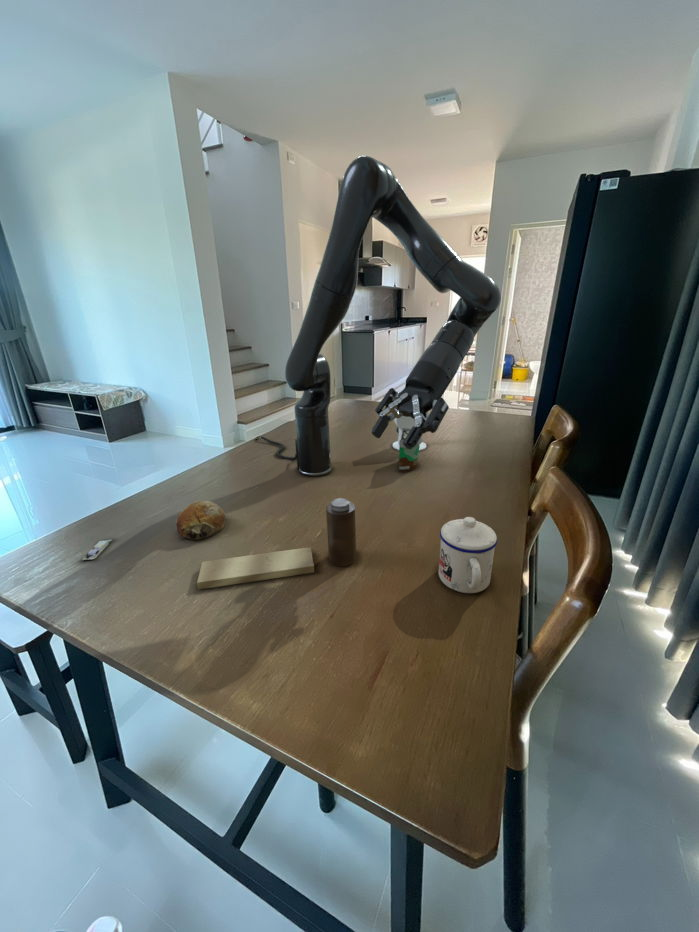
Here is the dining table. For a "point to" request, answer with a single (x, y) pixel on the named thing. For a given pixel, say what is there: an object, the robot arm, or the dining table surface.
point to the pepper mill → (341, 532)
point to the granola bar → (96, 549)
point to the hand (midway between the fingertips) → (390, 441)
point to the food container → (408, 453)
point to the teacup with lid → (466, 555)
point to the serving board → (255, 568)
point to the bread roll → (200, 520)
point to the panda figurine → (405, 423)
